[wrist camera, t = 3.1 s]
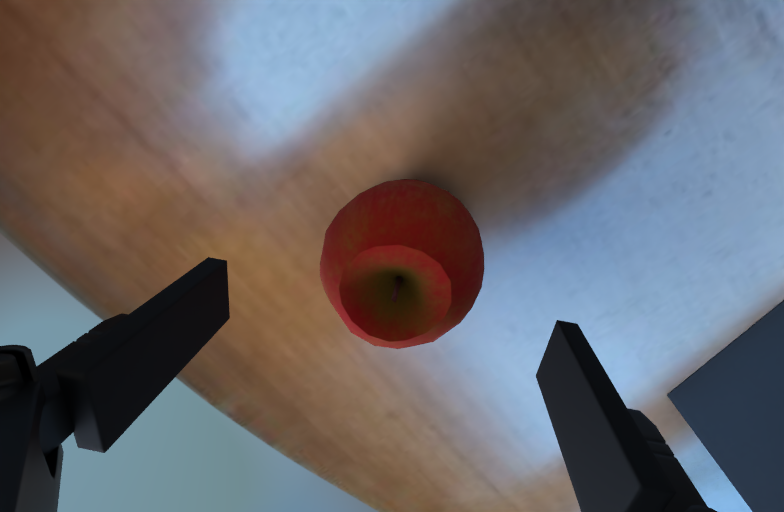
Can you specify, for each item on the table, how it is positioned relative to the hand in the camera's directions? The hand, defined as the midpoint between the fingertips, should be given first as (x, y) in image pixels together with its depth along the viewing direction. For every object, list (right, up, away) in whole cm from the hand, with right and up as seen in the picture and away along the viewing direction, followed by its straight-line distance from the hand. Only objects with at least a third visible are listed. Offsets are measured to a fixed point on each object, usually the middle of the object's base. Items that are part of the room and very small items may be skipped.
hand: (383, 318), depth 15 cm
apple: (+2, +5, +11) cm, 12 cm away
